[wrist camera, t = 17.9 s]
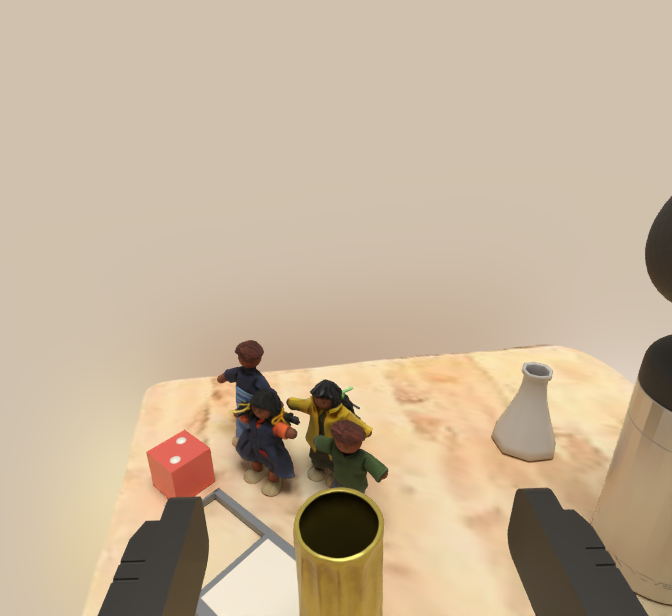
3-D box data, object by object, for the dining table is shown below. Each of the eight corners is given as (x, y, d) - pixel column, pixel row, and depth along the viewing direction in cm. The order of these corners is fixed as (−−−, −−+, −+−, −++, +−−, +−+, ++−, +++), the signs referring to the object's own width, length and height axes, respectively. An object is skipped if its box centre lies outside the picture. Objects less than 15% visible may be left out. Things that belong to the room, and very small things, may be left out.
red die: (190, 461, 53) (184, 429, 51) (215, 481, 50) (210, 447, 48) (153, 485, 50) (146, 451, 48) (177, 507, 47) (171, 472, 45)
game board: (219, 493, 49) (218, 487, 48) (421, 656, 35) (422, 649, 34) (137, 553, 43) (136, 546, 42) (344, 781, 29) (344, 773, 28)
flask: (495, 459, 53) (508, 384, 49) (487, 419, 60) (498, 350, 56) (563, 467, 52) (582, 391, 48) (547, 425, 59) (564, 355, 54)
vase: (284, 698, 32) (268, 552, 26) (315, 610, 37) (308, 472, 31) (373, 731, 30) (378, 584, 24) (392, 634, 35) (401, 493, 29)
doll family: (182, 467, 52) (163, 364, 47) (231, 420, 60) (219, 326, 54) (380, 541, 44) (386, 425, 38) (408, 475, 51) (416, 370, 46)
